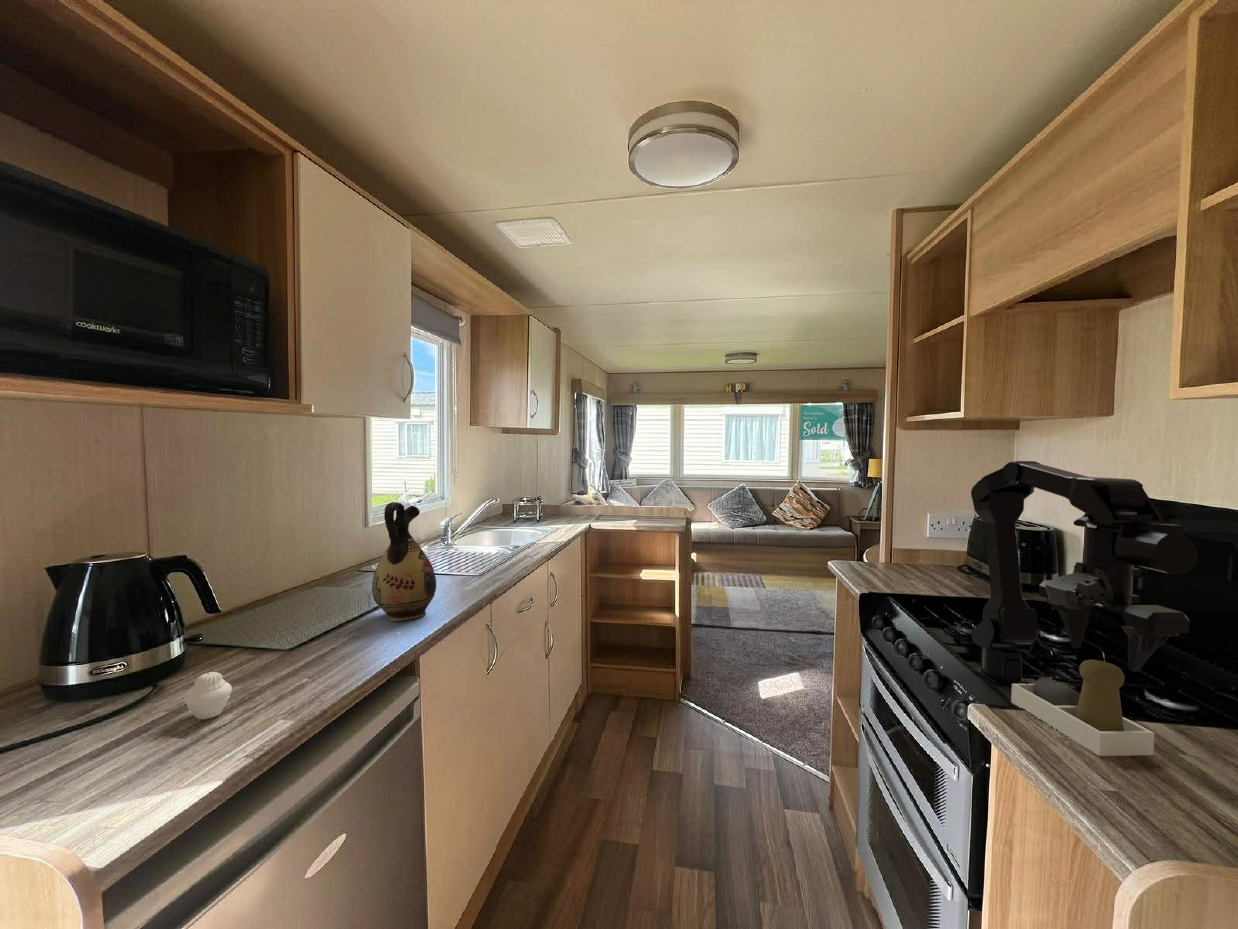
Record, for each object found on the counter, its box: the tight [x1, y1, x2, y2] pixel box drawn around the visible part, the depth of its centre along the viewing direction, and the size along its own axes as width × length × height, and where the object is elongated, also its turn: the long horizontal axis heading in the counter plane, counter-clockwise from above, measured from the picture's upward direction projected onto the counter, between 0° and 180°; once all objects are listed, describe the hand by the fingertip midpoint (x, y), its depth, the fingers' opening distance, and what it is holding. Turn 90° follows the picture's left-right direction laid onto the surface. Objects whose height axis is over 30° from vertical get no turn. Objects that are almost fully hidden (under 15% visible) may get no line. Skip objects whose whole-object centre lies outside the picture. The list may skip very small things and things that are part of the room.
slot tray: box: [1010, 682, 1155, 757], centre depth 86 cm, size 16×8×3 cm, turn 3°
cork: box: [1075, 659, 1125, 731], centre depth 82 cm, size 6×6×11 cm
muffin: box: [184, 671, 233, 720], centre depth 86 cm, size 6×6×7 cm
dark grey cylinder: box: [1034, 676, 1081, 706], centre depth 90 cm, size 6×4×4 cm, turn 4°
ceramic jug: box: [371, 501, 437, 622], centre depth 135 cm, size 17×15×30 cm
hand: (1103, 658), depth 82 cm, fingers open, 9 cm apart
